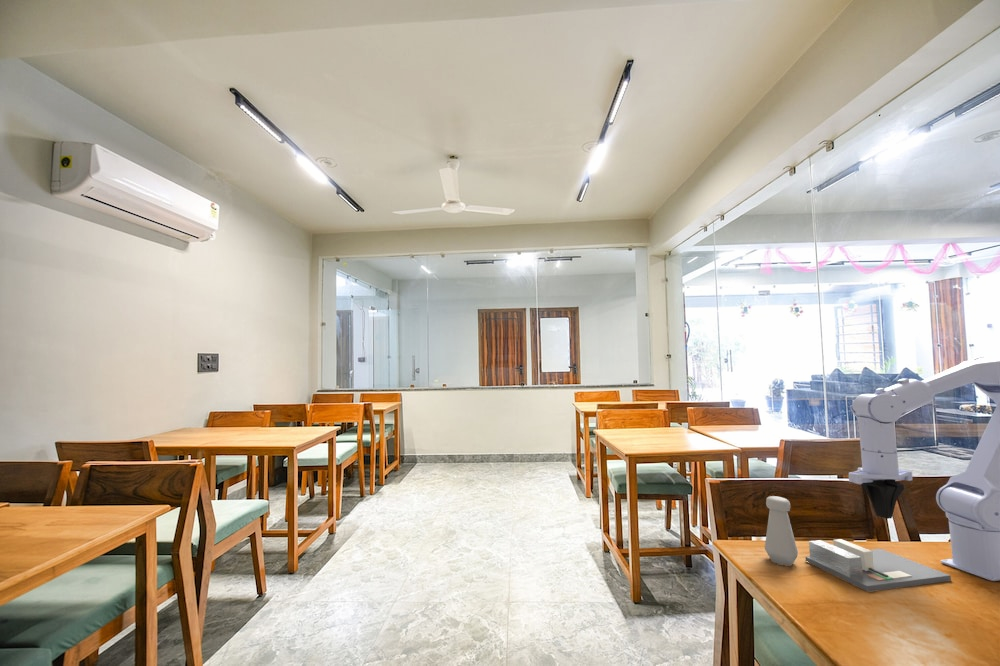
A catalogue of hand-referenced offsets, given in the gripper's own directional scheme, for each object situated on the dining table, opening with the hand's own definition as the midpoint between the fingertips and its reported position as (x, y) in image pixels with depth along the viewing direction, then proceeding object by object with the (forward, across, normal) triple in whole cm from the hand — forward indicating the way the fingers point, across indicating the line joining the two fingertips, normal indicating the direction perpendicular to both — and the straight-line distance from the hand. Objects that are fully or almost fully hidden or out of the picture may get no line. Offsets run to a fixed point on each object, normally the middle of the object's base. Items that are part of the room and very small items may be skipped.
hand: (884, 516), depth 85 cm
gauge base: (+9, +6, +2) cm, 11 cm away
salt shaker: (+10, +21, -5) cm, 24 cm away
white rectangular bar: (+8, +10, +2) cm, 13 cm away
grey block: (+9, +14, +1) cm, 17 cm away
